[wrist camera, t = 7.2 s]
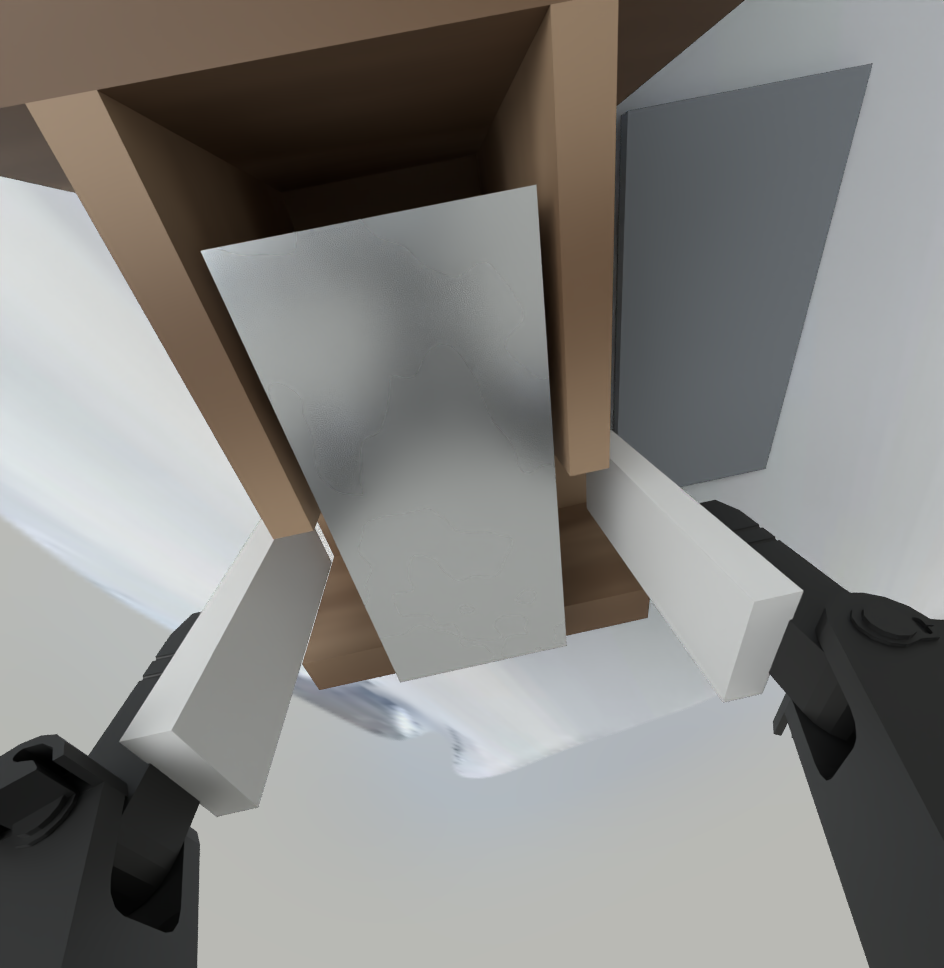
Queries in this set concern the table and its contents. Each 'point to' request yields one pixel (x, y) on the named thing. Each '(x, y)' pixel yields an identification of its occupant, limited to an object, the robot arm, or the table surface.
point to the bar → (419, 416)
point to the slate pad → (722, 264)
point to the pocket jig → (345, 195)
